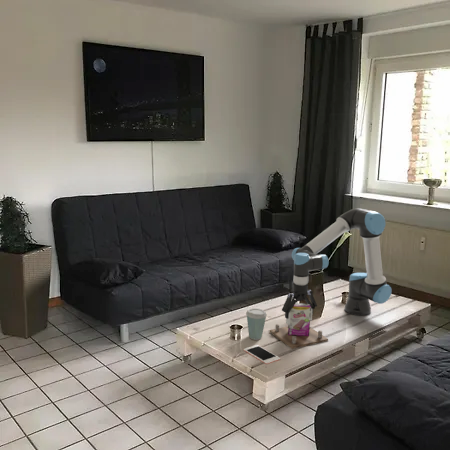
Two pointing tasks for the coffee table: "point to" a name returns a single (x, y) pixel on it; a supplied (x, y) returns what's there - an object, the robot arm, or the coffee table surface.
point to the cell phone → (262, 354)
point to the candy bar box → (299, 320)
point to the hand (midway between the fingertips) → (299, 321)
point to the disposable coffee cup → (256, 322)
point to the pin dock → (298, 337)
